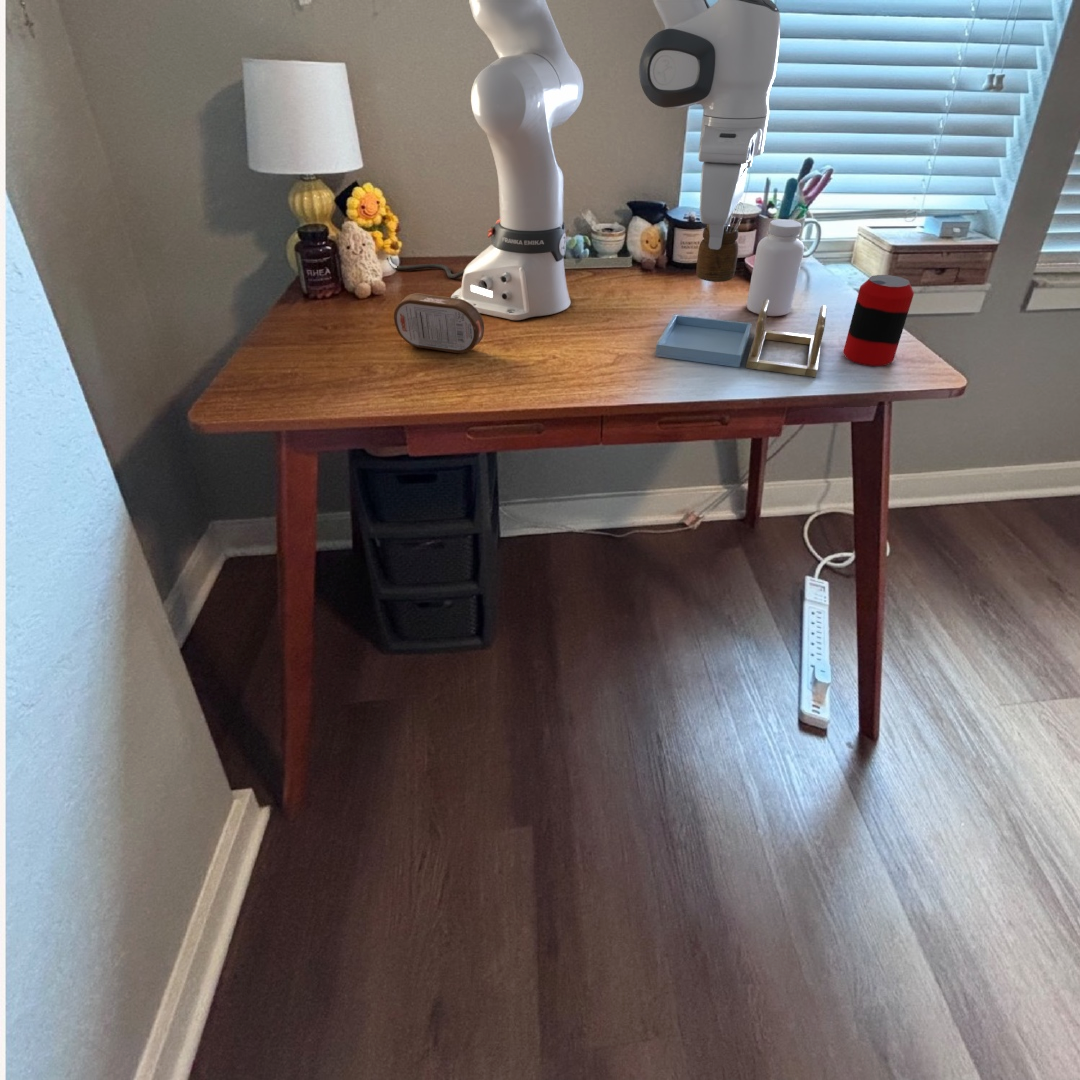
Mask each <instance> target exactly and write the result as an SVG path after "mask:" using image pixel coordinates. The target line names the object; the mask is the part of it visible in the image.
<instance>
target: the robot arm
mask: <svg viewBox="0 0 1080 1080" xmlns="http://www.w3.org/2000/svg"><path fill="white" fill-rule="evenodd" d="M652 2H653V5H654V6H655V9H656V11H657V13H658V16H659V18H660V19H661V22H662V24H663V26H664V29H661V30H660V31H658V32H656V33H655V34H653V35H652V37H650V38H649V40H648V41H647V43H645V46H644V48H643V50H642V52H641V56H640V59H639V66H638V75H639V76H638V78H639V84H640V87H641V89H642V91H643V94H644V95H645V97H646V98H647V99H648V101H650V102H651V103H652V104H653V105H655V106H657V107H659V108H664V109H668V110H669V109H670V110H675V109H681V108H686V107H692V106H695V105H701V106H702V109H703V112H702V120H701V128H700V137H699V138H700V139H699V147H698V151H699V152H698V161H699V162H701V163H702V166H701V176H700V196H699V217H700V218H699V219H700V222H701V223H702V224H704V225H707V224H709V234H710V238H709V248H710V249H716V250H718V249H720V248H721V246H722V241H723V232H724V226H725V224H726V226H731V225H730V224H731V223H732V222H731V221H732V218H733V215H734V212H735V209H736V208H737V206H738V205H739V202H740V200H741V199H742V197H743V195H744V192H745V188H746V181H747V173H748V169H749V168H751V167H752V165H753V158H755V157H758V156H761V155H762V154H763V152H764V149H765V148H764V147H765V141H766V134H767V128H768V121H769V116H770V104H769V99H770V92H771V88H772V85H773V83H774V80H775V78H776V72H777V66H778V58H779V51H780V41H781V39H780V38H781V15H780V10H779V8H778V6H777V5H776V4H775V2H774V1H773V0H717V1H716V2H714V4H712V5H711V6H710V4H709V3H708V1H707V0H652ZM468 4H469V7H470V11H471V14H472V17H473V19H474V21H475V23H476V25H477V26H478V28H479V29H480V30H481V31H482V32H483V33H484V35H486V37H487V38H488V40H489V42H490V43H491V46H492V47H493V49H494V51H495V53H496V56H497V57H498V58H497V59H495V60H494V61H493V62H491V63H490V64H488V65H486V66H485V67H484V68H483V69H482V70H481V71H479V73H478V74H477V76H476V77H475V79H474V81H473V84H472V86H471V91H470V106H471V110H472V114H473V116H474V119H475V121H476V123H477V124H478V126H479V127H480V128H481V130H482V131H483V132H484V133H485V135H486V137H487V140H488V143H489V145H490V150H491V153H492V156H493V160H494V165H495V169H496V175H497V182H498V184H497V185H498V202H499V203H498V205H499V219H498V220H496V222H495V224H493V225H492V226H491V227H490V229H488V230H487V231H486V232H487V233H488V234H487V238H491V244H490V245H489V246H487V247H486V248H485V249H484V250H482V251H481V252H480V253H479V254H478V255H477V256H476V257H475V258H473V259H472V260H471V261H470V262H469V263H468V264H467V265H466V266H465V268H464V269H463V270H461V271H459V272H456V273H452V272H451V269H450V268H449V266H447V265H445V264H441V263H424V264H423V263H422V264H414V265H413V264H412V265H399V264H398V265H399V266H397V268H395V269H394V270H398V271H413V270H415V271H416V270H424V269H440V270H444V271H445V273H446V276H447V278H449V279H452V280H453V279H454V280H455V279H459V278H461V277H462V279H461V287H459V288H458V289H456V290H455V291H454V292H453V293H452V294H451V296H450V298H457V299H462V300H465V301H467V302H469V303H470V304H472V305H473V306H474V307H475V308H476V309H477V310H478V312H479V313H480V314H483V315H488V316H492V317H496V318H497V317H498V318H502V319H506V320H511V321H521V320H525V319H529V318H534V317H543V316H549V315H553V314H557V313H561V312H562V311H565V310H567V309H568V308H569V307H570V306H571V304H572V301H571V298H570V294H569V290H568V285H567V279H566V272H565V271H566V269H565V259H564V258H565V257H566V249H567V234H566V223H565V221H564V181H565V180H564V179H565V178H564V173H563V171H562V168H561V167H560V166H559V165H558V162H557V159H556V154H555V151H554V150H555V149H554V146H553V140H552V129H554V128H556V127H559V126H561V125H563V124H564V123H565V122H567V121H568V120H569V119H570V118H571V117H572V116H573V115H574V113H575V112H576V111H577V110H578V108H579V106H580V105H581V102H582V99H583V95H584V79H583V75H582V73H581V70H580V69H579V67H578V65H577V64H576V63H575V61H574V60H573V59H572V58H571V56H570V55H569V53H568V51H567V49H566V46H565V44H564V42H563V39H562V37H561V34H560V32H559V30H558V28H557V25H556V23H555V20H554V18H553V15H552V13H551V10H550V8H549V6H548V3H547V0H468ZM737 201H738V202H737ZM736 202H737V203H736ZM737 204H738V205H737ZM728 220H729V222H728Z"/></svg>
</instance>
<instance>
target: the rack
mask: <svg viewBox="0 0 1080 1080" xmlns="http://www.w3.org/2000/svg"><path fill="white" fill-rule="evenodd" d="M768 306H769V300H768V299H765V300H764V302H763V305H762V308H761V311H760V314H758V317H757V321H756V326H755V332H754V337H753V341H752V343H751V347H750V350H749V354H748V356H747V361H746V365H745V368H746V369H751V370H758V371H766V372H773V373H782V374H789V375H797V376H804V377H812V378H817V374H818V369H819V361H820V353H821V347H822V340H823V336H824V332H825V328H826V319H827V318H826V317H827V310H828V307H827V305H824V304H823V305H821V307H820V310H819V314H818V318H817V321H816V326H815V330H814V335H812V334H805V333H795V332H787V331H778V330H770V329H765V327H766V322H767V317H768V316H767V312H768ZM765 340H767V341H776V342H784V343H793V344H794V343H795V344H802V345H809V346H808V347H809V348H808V352H807V359H806V365H805V364H797V363H790V362H781V361H774V360H767V359H760V357H761V354H762V350H763V347H764V343H765Z"/></svg>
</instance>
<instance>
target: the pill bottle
mask: <svg viewBox="0 0 1080 1080" xmlns="http://www.w3.org/2000/svg"><path fill="white" fill-rule="evenodd" d="M768 224H769V225H768V228H767V232H766V234H767V235H768V236H765V237H763V238H761V239H760V240H759V242H758V243H757V246H756V251H755V256H754V261H753V267H752V272H751V278H750V283H749V287H748V295H747V299H746V308H747V310H748V311H749V312H751V313H754V314H756V315H759V314H760V311H761V308H762V305H763V302H764V300H765V299H768V300H769V306H768V312H767V317H779V316H781V317H782V316H785V315H788V314H789V313H790V312H791V310H792V306H793V302H794V298H795V293H796V288H797V285H798V280H799V276H800V270H801V268H802V267H801V266H802V261H803V258H804V252H805V245H804V243H803V241H802V240H800V239H799V238H800V234H801V229H802V223H801V222H799V221H796V220H794V219H787V218H786V219H785V218H779V219H771V221H769V223H768Z"/></svg>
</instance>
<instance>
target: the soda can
mask: <svg viewBox="0 0 1080 1080" xmlns="http://www.w3.org/2000/svg"><path fill="white" fill-rule="evenodd" d="M914 294H915V292H914V290H913V287H912V285H911V282H910V280H909V279H907V278H905V277H901V276H897V275H890V274H875V275H872V276H870V277H868V279H866V281H864V282H863V283H862V284H861V285H860V287H859V289H858V293H857V297H856V301H855V305H854V308H853V309H854V310H853V312H852V316H851V321H850V323H849V324H850V325H849V327H848V328H849V329H848V332H847V336H846V340H845V343H844V347H843V351H842V352H843V355H844V357H845V358H846V359H847V360H849V361H850V362H852V363H854V364H858V365H861V366H868V367H884V366H886V365H889V364H891V363H892V362H893V361H894V359H895V356H896V353H897V350H898V346H899V344H900V340H901V337H902V333H903V331H904V327H905V324H906V320H907V317H908V315H909V311H910V308H911V305H912V301H913V298H914V296H915V295H914Z"/></svg>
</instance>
